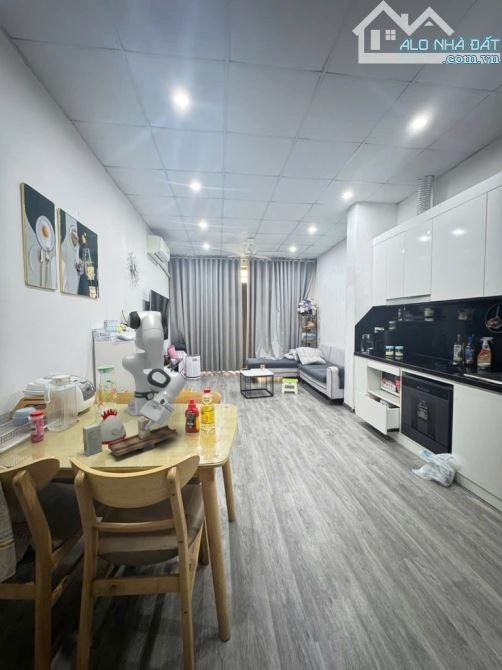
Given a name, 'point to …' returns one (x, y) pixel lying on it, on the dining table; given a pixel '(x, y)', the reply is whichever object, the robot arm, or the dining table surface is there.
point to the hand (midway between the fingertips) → (142, 427)
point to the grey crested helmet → (111, 428)
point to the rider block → (141, 431)
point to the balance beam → (141, 441)
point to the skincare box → (92, 439)
